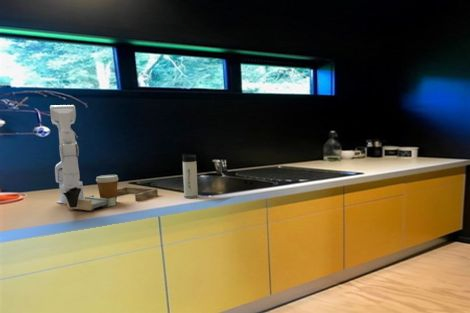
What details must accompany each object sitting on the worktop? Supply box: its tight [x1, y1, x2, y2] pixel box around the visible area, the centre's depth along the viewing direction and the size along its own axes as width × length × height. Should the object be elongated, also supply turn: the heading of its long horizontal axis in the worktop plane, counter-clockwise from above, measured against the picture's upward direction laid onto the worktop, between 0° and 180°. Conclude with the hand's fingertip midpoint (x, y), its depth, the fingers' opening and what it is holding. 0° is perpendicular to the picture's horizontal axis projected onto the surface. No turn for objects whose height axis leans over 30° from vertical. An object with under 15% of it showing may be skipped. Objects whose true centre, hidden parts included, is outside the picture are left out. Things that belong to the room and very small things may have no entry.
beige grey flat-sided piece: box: [66, 194, 117, 212], centre depth 149 cm, size 13×14×5 cm
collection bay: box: [117, 186, 159, 202], centre depth 169 cm, size 14×20×3 cm
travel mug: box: [182, 153, 199, 199], centre depth 163 cm, size 6×7×20 cm
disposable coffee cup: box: [95, 174, 119, 201], centre depth 156 cm, size 10×10×12 cm
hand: (73, 207), depth 141 cm, fingers closed
